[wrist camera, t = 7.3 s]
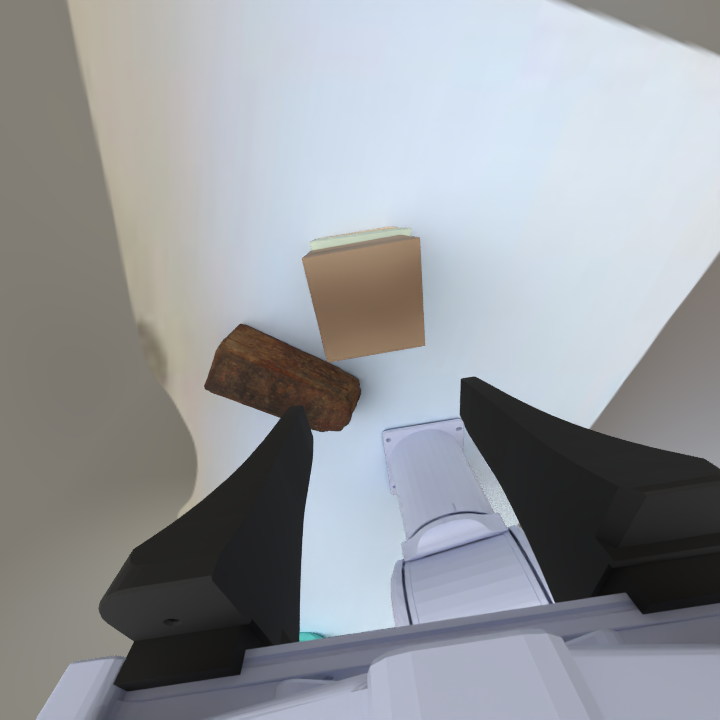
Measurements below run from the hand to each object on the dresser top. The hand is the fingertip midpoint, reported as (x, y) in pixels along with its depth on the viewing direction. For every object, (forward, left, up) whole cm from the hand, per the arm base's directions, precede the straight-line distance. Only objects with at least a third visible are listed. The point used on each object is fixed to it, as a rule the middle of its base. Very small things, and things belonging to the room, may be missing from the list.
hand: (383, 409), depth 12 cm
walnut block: (+4, 0, -5) cm, 7 cm away
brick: (-3, +6, -11) cm, 13 cm away
